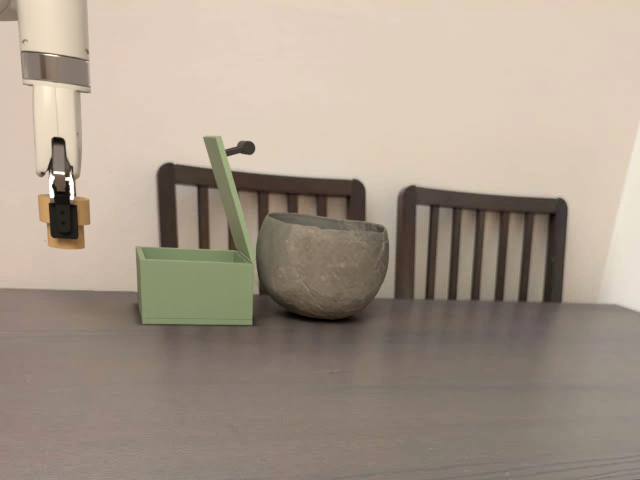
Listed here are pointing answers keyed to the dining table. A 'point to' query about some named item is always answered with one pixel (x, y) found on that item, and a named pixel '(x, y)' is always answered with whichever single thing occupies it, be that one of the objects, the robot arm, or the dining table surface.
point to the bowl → (321, 263)
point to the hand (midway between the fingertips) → (65, 233)
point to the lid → (230, 189)
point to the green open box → (194, 286)
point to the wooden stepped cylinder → (83, 219)
